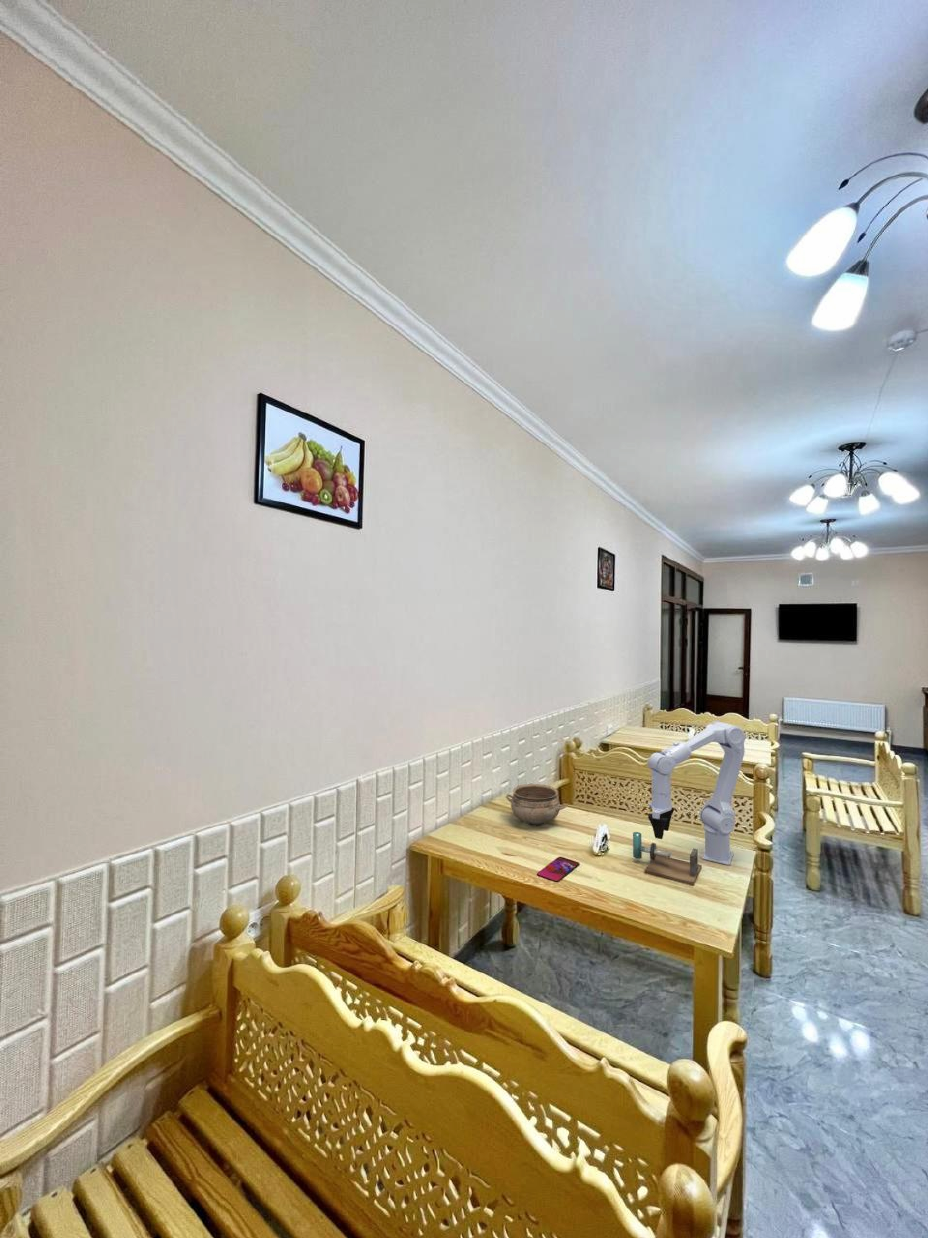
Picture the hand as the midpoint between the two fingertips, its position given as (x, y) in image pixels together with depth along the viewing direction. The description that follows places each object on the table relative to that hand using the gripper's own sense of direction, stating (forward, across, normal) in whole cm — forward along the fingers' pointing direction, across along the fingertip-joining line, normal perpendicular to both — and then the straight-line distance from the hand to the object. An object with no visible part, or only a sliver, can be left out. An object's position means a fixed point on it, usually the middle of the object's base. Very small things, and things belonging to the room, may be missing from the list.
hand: (661, 834), depth 162 cm
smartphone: (+10, +22, -26) cm, 35 cm away
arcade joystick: (+8, +3, -3) cm, 9 cm away
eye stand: (+9, +3, +4) cm, 11 cm away
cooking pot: (+10, -8, -49) cm, 51 cm away
